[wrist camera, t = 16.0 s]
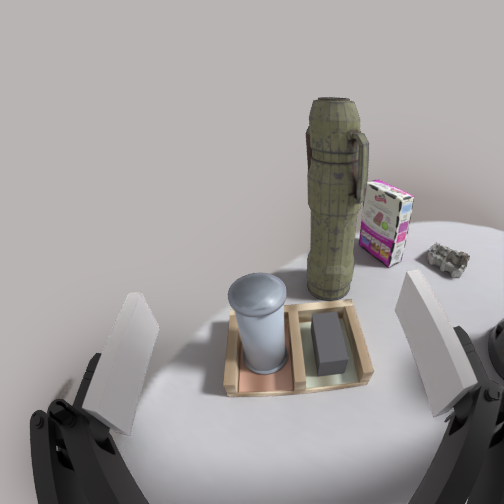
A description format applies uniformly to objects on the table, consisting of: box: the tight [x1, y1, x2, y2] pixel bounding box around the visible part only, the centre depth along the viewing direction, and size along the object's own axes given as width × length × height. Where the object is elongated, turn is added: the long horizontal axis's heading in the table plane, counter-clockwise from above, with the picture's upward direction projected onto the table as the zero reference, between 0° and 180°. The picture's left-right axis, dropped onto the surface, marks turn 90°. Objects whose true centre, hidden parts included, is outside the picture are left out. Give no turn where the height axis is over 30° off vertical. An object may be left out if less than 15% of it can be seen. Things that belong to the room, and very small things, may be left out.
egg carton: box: [427, 242, 470, 278], centre depth 51 cm, size 11×8×4 cm
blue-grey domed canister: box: [228, 273, 288, 375], centre depth 35 cm, size 7×7×14 cm
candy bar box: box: [359, 180, 414, 267], centre depth 55 cm, size 11×5×16 cm, turn 23°
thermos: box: [306, 97, 369, 301], centre depth 43 cm, size 9×12×35 cm
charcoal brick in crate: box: [311, 312, 349, 377], centre depth 38 cm, size 4×9×4 cm, turn 179°
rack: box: [223, 299, 374, 397], centre depth 39 cm, size 20×14×4 cm
